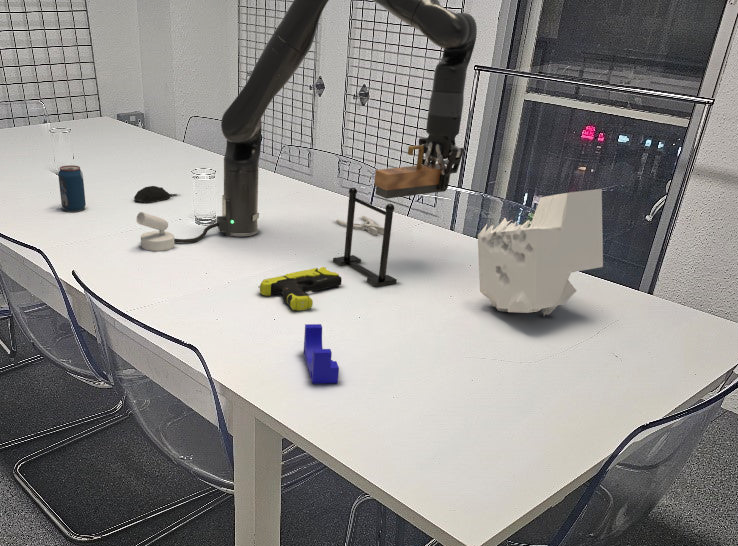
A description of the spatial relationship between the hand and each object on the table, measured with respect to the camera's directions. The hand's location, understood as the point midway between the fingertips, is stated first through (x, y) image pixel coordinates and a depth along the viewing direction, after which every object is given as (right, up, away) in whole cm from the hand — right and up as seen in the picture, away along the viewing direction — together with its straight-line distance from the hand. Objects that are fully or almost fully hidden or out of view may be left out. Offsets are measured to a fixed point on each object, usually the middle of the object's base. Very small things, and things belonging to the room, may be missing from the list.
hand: (434, 187), depth 179 cm
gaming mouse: (-74, +13, +54) cm, 93 cm away
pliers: (-12, -1, +34) cm, 36 cm away
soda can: (-97, +6, +42) cm, 106 cm away
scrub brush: (-6, -2, -2) cm, 7 cm away
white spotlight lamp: (-69, -11, +15) cm, 72 cm away
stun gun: (-31, -28, -11) cm, 43 cm away
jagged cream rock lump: (+16, -32, -15) cm, 39 cm away
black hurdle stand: (-17, -20, +2) cm, 26 cm away
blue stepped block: (-31, -46, -42) cm, 69 cm away
